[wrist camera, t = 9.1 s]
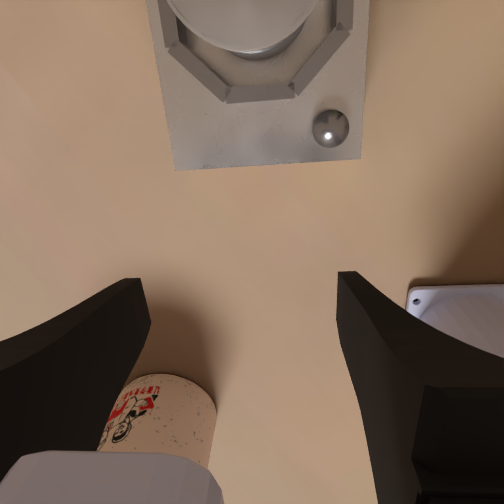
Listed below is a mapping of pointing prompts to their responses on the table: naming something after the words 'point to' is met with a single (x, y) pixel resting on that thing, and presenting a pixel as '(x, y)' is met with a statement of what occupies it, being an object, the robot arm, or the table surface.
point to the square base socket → (264, 92)
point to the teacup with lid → (162, 419)
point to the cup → (245, 23)
